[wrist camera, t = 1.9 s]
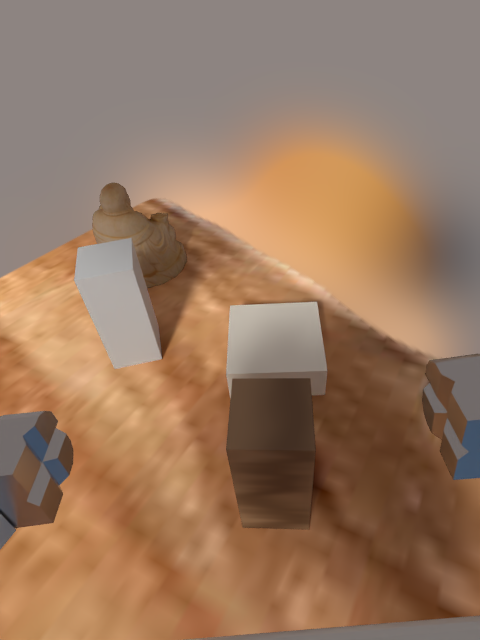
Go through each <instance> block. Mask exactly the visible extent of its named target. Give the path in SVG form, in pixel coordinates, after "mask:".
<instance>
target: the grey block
mask: <svg viewBox="0 0 480 640" xmlns="http://www.w3.org/2000/svg"><path fill="white" fill-rule="evenodd" d="M74 281H75V283H76V285H77V288H78V290H79V292H80V294H81V296H82V299H83V301H84V303H85V305H86V307H87V310H88V312H89V314H90V316H91V318H92V320H93V323H94V325H95V327H96V329H97V331H98V334H99V336H100V338H101V340H102V342H103V345H104V347H105V349H106V351H107V353H108V355H109V358H110V360H111V362H112V364H113V366H114V369H117V368H122V367H127V366H131V365H136V364H141V363H146V362H151V361H155V360H160V359H162V353H161V343H160V333H159V325H158V322H157V319H156V316H155V312H154V309H153V306H152V303H151V299H150V296H149V293H148V290H147V286H146V283H145V280H144V277H143V274H142V270H141V267H140V264H139V261H138V257H137V254H136V251H135V248H134V244H133V241H132V238H128V239H122V240H117V241H111V242H106V243H100V244H95V245H90V246H84V247H79V248H78V252H77V261H76V269H75V278H74Z"/></svg>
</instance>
